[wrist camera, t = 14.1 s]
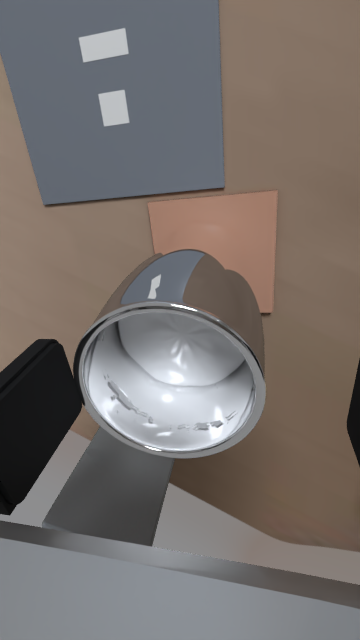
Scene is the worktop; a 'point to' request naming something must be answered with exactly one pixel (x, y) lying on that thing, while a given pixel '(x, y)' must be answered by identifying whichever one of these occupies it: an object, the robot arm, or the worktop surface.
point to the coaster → (240, 218)
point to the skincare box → (113, 493)
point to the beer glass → (178, 350)
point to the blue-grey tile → (116, 94)
